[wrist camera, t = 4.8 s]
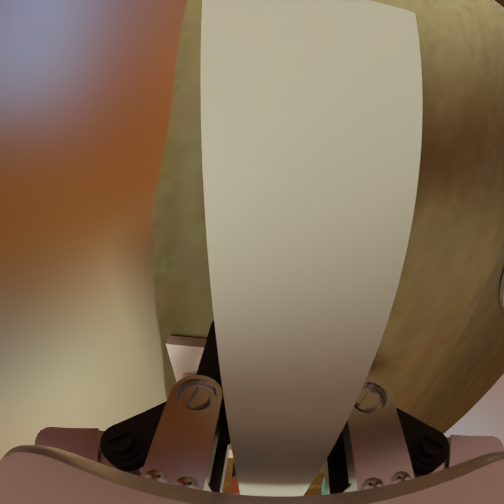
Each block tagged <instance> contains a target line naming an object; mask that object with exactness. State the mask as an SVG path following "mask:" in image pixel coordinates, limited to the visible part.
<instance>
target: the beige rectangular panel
mask: <svg viewBox="0 0 504 504" xmlns="http://www.w3.org/2000/svg"><path fill="white" fill-rule="evenodd" d="M422 111H423V99H422V70H421V56H420V46H419V37H418V29H417V22H416V16H415V13H414V12H411V11H407V10H404V9H401V8H398V7H394V6H390V5H387V4H383V3H379V2H375V1H370V0H202V24H201V135H202V164H203V186H204V204H205V220H206V235H207V248H208V261H209V273H210V284H211V295H212V305H213V314H214V324H215V333H216V342H217V350H218V358H219V366H220V374H221V381H222V389H223V396H224V403H225V410H226V416H227V423H228V429H229V435H230V441H231V447H232V453H233V459H234V464H235V470H236V475H237V481H238V486H239V491H240V495H250V496H281V497H283V496H303V495H304V494H305V492H306V491H307V489H308V488H309V486H310V485H311V483H312V482H313V480H314V478H315V477H316V475H317V474H318V472H319V470H320V469H321V467H322V466H323V464H324V462H325V460H326V459H327V457H328V455H329V454H330V452H331V450H332V448H333V446H334V445H335V443H336V441H337V439H338V437H339V435H340V434H341V432H342V430H343V428H344V426H345V424H346V422H347V420H348V418H349V416H350V414H351V412H352V410H353V407H354V405H355V403H356V401H357V399H358V397H359V394H360V392H361V390H362V388H363V385H364V383H365V381H366V378H367V376H368V373H369V371H370V368H371V366H372V363H373V361H374V358H375V355H376V353H377V350H378V347H379V345H380V342H381V339H382V336H383V333H384V330H385V327H386V324H387V321H388V318H389V315H390V312H391V308H392V305H393V302H394V298H395V295H396V291H397V287H398V284H399V280H400V276H401V272H402V268H403V264H404V259H405V255H406V250H407V246H408V241H409V236H410V231H411V225H412V220H413V214H414V207H415V201H416V193H417V186H418V177H419V167H420V156H421V141H422Z"/></svg>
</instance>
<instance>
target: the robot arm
mask: <svg viewBox="0 0 504 504" xmlns="http://www.w3.org/2000/svg"><path fill="white" fill-rule="evenodd" d="M500 304H501V306H502V309H503V310H504V272H503V276H502V280H501V285H500ZM230 443H231V441H230V435H229V429H228V423H227V416H226V410H225V403H224V396H223V389H222V381H221V374H220V366H219V358H218V350H217V342H216V333H215V324H214V321H213V322H212V324H211V327H210V330H209V334H208V337H207V340H206V343H205V347H204V350H203V353H202V357H201V360H200V363H199V367H198V370H197V373H196V375H191V376H187V377H184V378H182V379H180V380H179V381H178V382H176V383H175V384H174V386H173V387H172V389H171V391H170V394H169V396H168V399H167V401H166V402H164V403H162V404H160V405H158V406H156V407H154V408H151V409H149V410H147V411H145V412H143V413H141V414H138V415H136V416H134V417H132V418H129V419H127V420H125V421H122V422H120V423H118V424H115V425H113V426H111V427H110V428H108V429H107V430H106V431H100V430H99V429H98V428H60V427H47V428H44V429H43V430H41V431H40V432H39V433H38V435H37V437H36V440H35V445H22V446H17V447H15V448H12V449H11V450H9V452H7V453H6V454H5V455H4V456H3V458H2V459H1V460H0V504H504V448H503V444H502V442H501V441H500V440H499V439H498V438H496V437H492V436H461V435H451V436H450V437H449V438H448V437H445V436H444V434H442V433H441V432H440V431H438V430H436V429H434V428H432V427H431V426H429V425H427V424H425V423H423V422H421V421H419V420H418V419H416V418H414V417H412V416H410V415H408V414H407V413H405V412H403V411H401V410H400V409H398V408H396V407H395V404H394V401H393V397H392V394H391V392H390V390H389V389H388V387H386V386H385V385H384V384H383V383H381V382H380V381H378V380H375V379H371V378H366V381H365V383H364V385H363V388H362V390H361V392H360V394H359V397H358V399H357V401H356V403H355V405H354V407H353V410H352V412H351V414H350V416H349V418H348V420H347V422H346V424H345V426H344V428H343V430H342V432H341V434H340V435H339V437H338V439H337V441H336V443H335V445H334V446H333V448H332V450H331V452H330V454H329V455H328V457H327V459H326V460H325V462H324V464H323V465H324V479H325V495H314V496H283V497H281V496H250V495H237V494H227V493H222V490H223V484H224V478H225V472H226V466H227V460H228V454H229V448H230Z"/></svg>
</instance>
